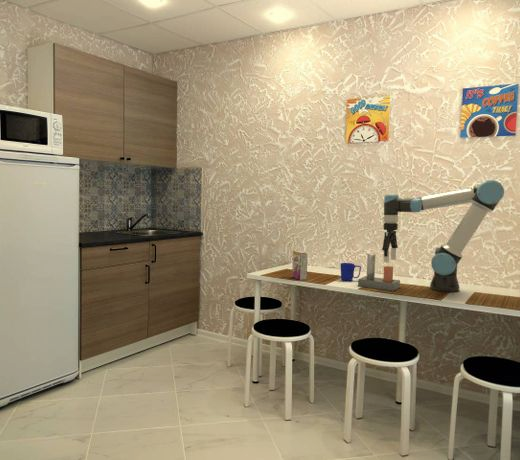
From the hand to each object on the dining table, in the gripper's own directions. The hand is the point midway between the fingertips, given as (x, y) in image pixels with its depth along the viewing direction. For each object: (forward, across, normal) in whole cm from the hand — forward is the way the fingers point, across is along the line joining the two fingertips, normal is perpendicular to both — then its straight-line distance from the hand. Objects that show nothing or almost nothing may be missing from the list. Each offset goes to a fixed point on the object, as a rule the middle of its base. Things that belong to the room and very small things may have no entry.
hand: (389, 261), depth 254 cm
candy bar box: (+14, +6, -53) cm, 55 cm away
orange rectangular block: (+15, 0, -1) cm, 15 cm away
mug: (+15, -8, -26) cm, 31 cm away
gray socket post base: (+15, 0, -6) cm, 16 cm away
